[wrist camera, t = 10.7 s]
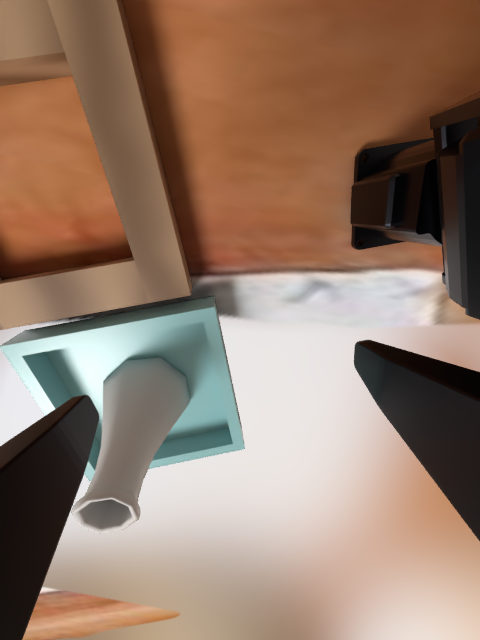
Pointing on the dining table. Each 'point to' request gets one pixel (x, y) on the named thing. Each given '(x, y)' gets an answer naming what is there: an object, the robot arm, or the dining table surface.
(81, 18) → the frame
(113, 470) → the flask
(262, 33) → the dining table surface
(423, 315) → the dining table surface
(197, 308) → the teal tray
